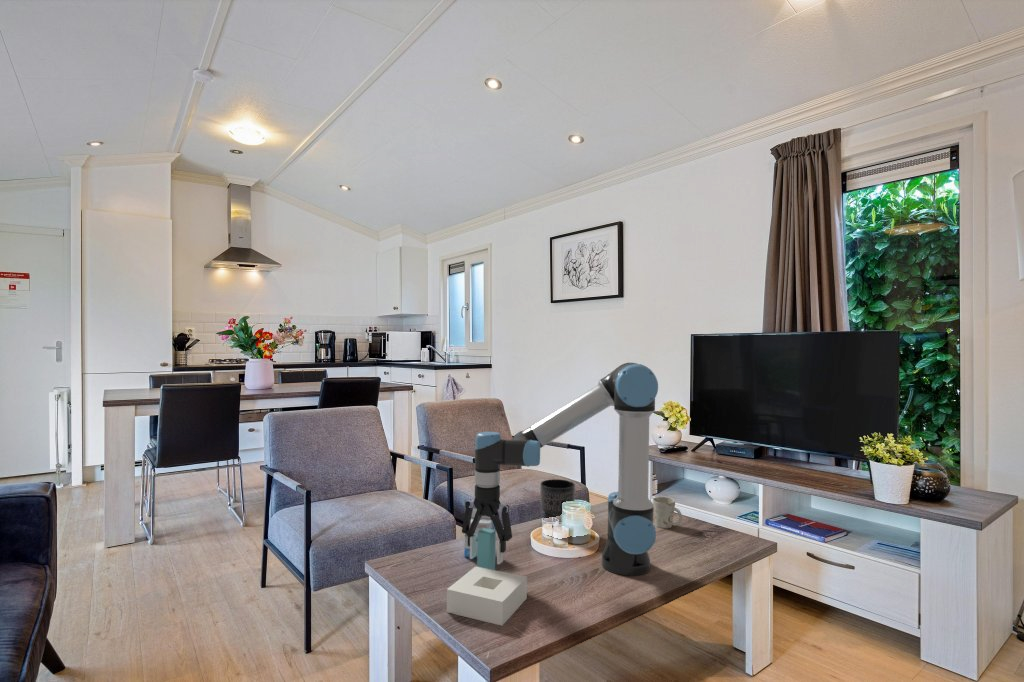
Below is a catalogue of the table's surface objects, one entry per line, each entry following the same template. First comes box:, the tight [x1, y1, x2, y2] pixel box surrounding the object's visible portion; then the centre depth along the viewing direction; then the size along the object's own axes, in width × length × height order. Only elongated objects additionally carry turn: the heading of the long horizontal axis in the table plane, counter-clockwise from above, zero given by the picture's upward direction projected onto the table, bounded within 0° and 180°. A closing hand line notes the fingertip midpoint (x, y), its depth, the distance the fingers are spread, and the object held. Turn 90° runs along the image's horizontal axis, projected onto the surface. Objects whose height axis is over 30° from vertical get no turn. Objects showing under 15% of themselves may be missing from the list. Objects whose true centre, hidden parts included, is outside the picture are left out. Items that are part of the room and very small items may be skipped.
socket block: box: [446, 565, 528, 626], centre depth 149 cm, size 16×16×6 cm
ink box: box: [463, 507, 493, 559], centre depth 183 cm, size 9×5×15 cm, turn 84°
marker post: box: [476, 528, 497, 570], centre depth 166 cm, size 4×4×14 cm
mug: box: [652, 496, 683, 529], centre depth 213 cm, size 8×13×10 cm, turn 40°
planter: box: [539, 478, 576, 519], centre depth 207 cm, size 13×13×18 cm
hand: (486, 559), depth 166 cm, fingers open, 8 cm apart
